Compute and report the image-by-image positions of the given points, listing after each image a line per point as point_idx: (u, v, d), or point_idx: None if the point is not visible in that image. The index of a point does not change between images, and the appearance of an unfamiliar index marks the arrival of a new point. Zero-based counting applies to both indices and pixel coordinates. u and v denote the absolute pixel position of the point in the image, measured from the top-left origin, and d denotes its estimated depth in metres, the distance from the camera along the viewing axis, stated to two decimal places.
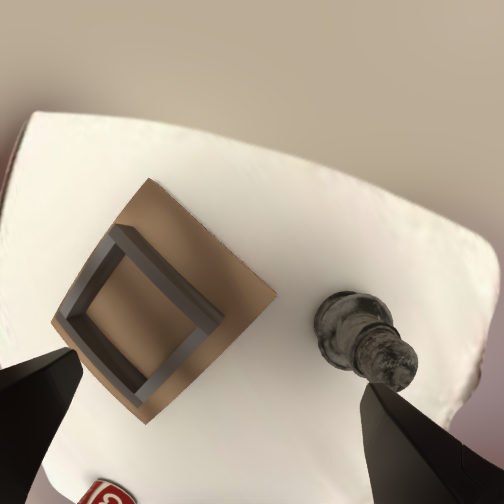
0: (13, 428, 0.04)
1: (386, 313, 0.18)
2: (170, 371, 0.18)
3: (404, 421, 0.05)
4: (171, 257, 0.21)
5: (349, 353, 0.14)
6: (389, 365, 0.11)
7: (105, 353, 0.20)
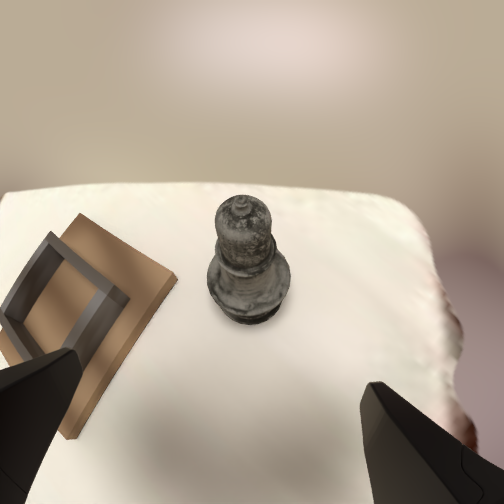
0: (13, 428, 0.04)
1: None
2: (75, 338, 0.16)
3: (404, 421, 0.05)
4: (90, 261, 0.23)
5: (216, 253, 0.16)
6: (226, 204, 0.13)
7: (30, 345, 0.17)
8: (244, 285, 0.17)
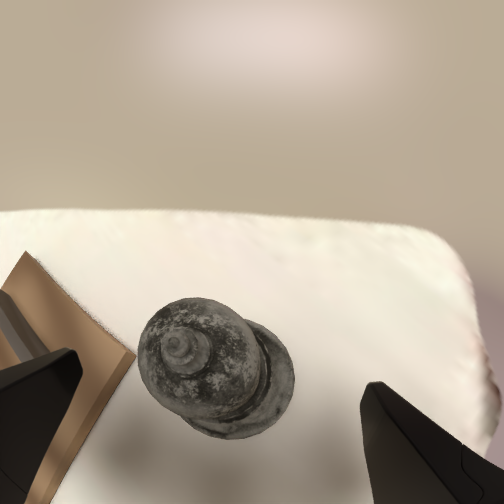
0: (13, 428, 0.04)
1: (268, 338, 0.12)
2: None
3: (404, 421, 0.05)
4: (32, 320, 0.15)
5: None
6: (155, 331, 0.05)
7: None
8: None
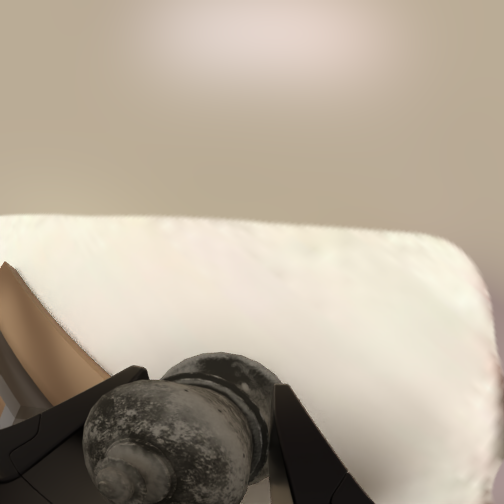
0: (84, 469, 0.04)
1: (266, 378, 0.10)
2: None
3: (287, 430, 0.05)
4: (11, 339, 0.12)
5: None
6: (95, 434, 0.03)
7: None
8: None
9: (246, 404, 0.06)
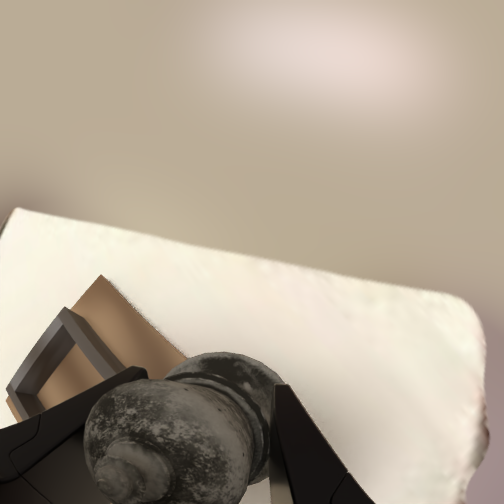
0: (84, 469, 0.04)
1: (267, 377, 0.10)
2: None
3: (287, 430, 0.05)
4: (116, 348, 0.19)
5: None
6: (96, 432, 0.03)
7: None
8: None
9: (247, 403, 0.06)
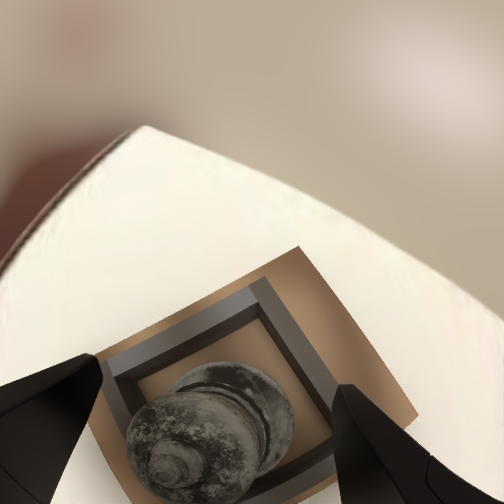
0: (32, 441, 0.04)
1: (267, 383, 0.11)
2: (282, 499, 0.09)
3: (369, 426, 0.05)
4: None
5: None
6: (141, 437, 0.04)
7: None
8: None
9: (252, 407, 0.07)
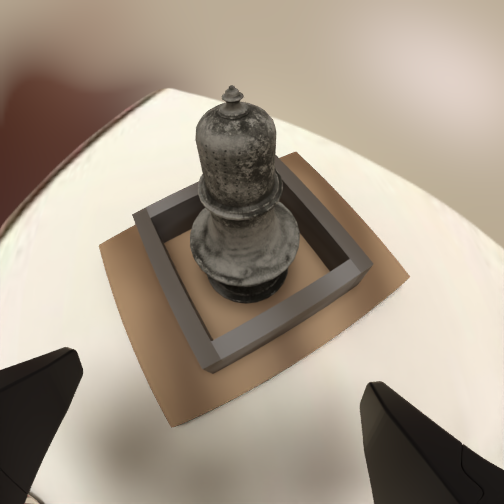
0: (12, 428, 0.04)
1: (276, 203, 0.15)
2: (296, 311, 0.13)
3: (404, 421, 0.05)
4: None
5: (199, 191, 0.11)
6: (212, 109, 0.09)
7: (181, 282, 0.15)
8: (238, 240, 0.12)
9: None
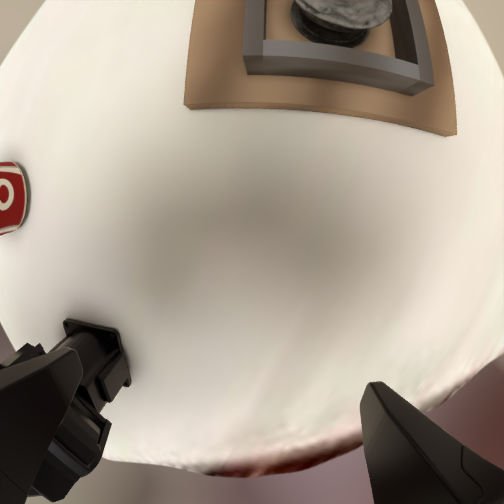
0: (13, 428, 0.04)
1: None
2: (348, 60, 0.11)
3: (404, 421, 0.05)
4: None
5: None
6: None
7: None
8: None
9: None
